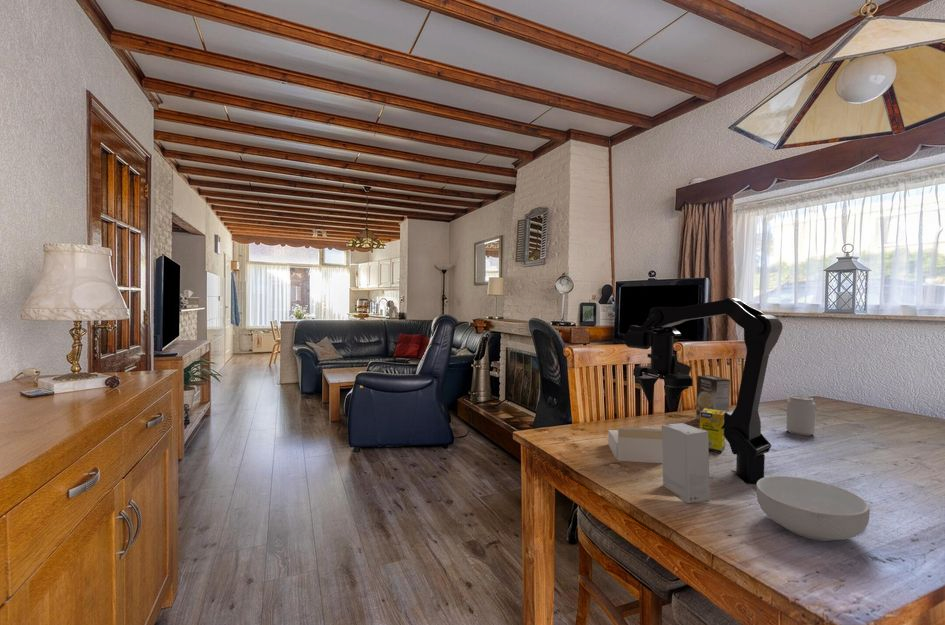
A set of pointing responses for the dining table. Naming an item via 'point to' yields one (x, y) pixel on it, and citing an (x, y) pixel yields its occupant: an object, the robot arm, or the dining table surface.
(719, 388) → the coffee box
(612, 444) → the carton
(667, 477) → the skincare box
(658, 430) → the flap
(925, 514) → the dining table surface
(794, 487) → the cereal bowl
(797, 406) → the can
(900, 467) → the dining table surface
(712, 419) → the supplement box
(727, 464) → the dining table surface
